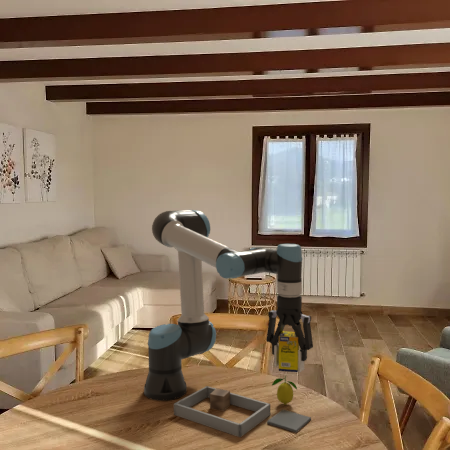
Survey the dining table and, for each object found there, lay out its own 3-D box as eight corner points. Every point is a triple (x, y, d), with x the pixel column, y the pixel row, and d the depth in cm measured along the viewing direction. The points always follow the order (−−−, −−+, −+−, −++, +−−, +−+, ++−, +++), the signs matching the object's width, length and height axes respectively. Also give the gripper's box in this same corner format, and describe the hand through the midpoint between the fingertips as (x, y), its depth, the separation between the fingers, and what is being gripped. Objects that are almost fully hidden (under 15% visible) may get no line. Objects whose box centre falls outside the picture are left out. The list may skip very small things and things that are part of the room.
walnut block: (210, 408, 164) (209, 393, 163) (216, 402, 168) (216, 388, 168) (223, 411, 162) (223, 396, 161) (230, 405, 166) (229, 390, 166)
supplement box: (298, 372, 149) (298, 337, 148) (278, 371, 150) (278, 336, 150) (299, 365, 155) (299, 331, 154) (280, 364, 156) (280, 330, 155)
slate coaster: (267, 423, 153) (267, 421, 153) (282, 411, 161) (282, 409, 161) (296, 432, 147) (296, 430, 147) (310, 419, 155) (310, 417, 155)
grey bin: (173, 414, 159) (173, 403, 159) (206, 395, 174) (206, 385, 173) (240, 437, 145) (240, 425, 144) (270, 414, 159) (270, 403, 159)
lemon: (271, 405, 166) (271, 376, 165) (280, 399, 171) (280, 370, 170) (288, 410, 162) (289, 380, 161) (297, 404, 167) (297, 375, 166)
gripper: (254, 293, 154) (254, 364, 156) (314, 301, 142) (314, 378, 144) (266, 289, 160) (266, 358, 162) (325, 296, 148) (324, 371, 150)
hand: (289, 367), depth 153 cm, fingers closed on supplement box, 7 cm apart
